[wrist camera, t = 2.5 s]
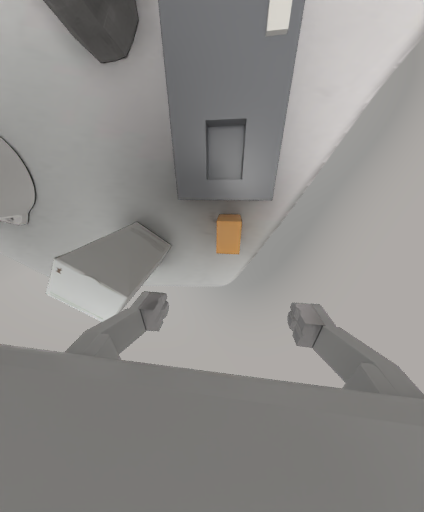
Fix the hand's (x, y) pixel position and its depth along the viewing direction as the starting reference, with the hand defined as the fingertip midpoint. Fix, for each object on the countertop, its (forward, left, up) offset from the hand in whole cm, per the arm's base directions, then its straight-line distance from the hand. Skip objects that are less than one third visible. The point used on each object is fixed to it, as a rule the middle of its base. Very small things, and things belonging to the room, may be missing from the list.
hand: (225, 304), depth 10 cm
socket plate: (-1, +15, -19) cm, 24 cm away
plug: (0, 0, -19) cm, 19 cm away
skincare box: (-16, -4, -20) cm, 26 cm away
